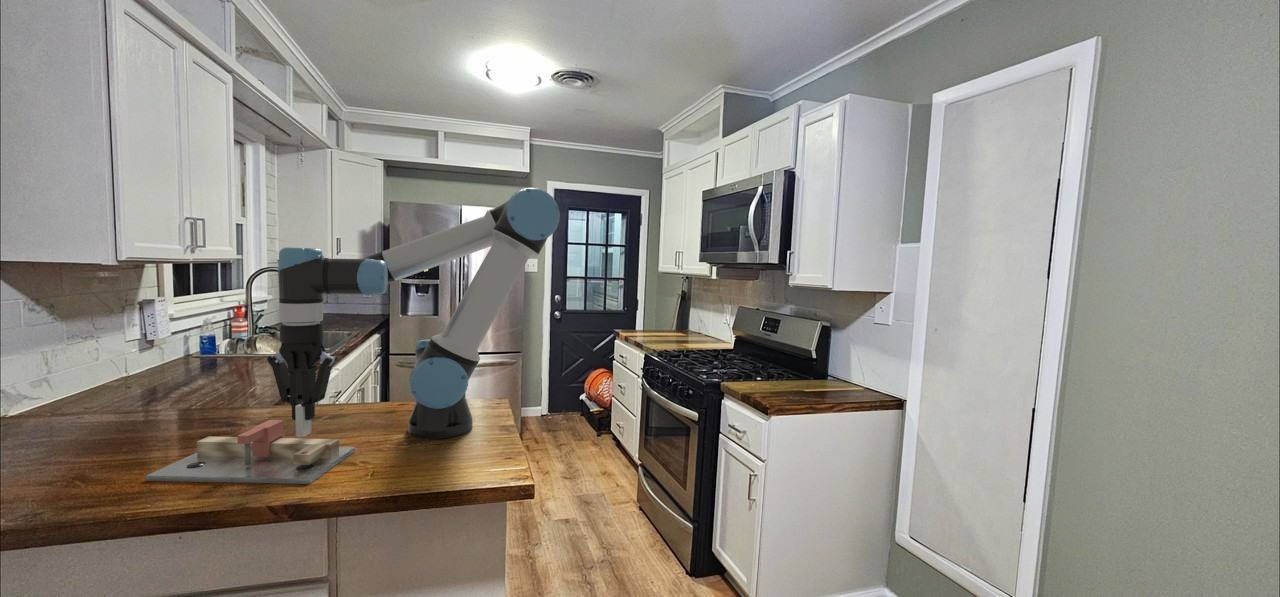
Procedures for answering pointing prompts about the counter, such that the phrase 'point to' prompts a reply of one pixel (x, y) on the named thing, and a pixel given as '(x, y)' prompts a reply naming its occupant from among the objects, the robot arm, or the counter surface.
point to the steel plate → (246, 469)
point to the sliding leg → (261, 438)
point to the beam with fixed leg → (273, 448)
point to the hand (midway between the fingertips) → (303, 434)
